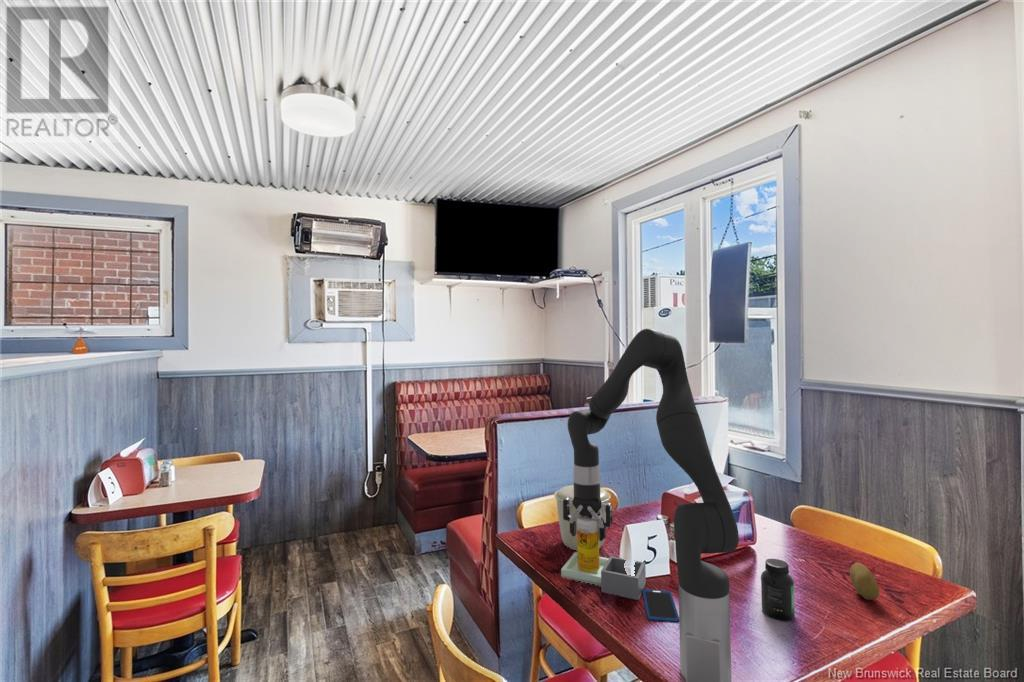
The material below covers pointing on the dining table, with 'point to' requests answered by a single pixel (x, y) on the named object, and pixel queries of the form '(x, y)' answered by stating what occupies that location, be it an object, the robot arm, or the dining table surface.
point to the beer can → (588, 544)
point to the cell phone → (660, 606)
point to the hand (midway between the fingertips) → (587, 537)
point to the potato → (864, 581)
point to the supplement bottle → (777, 590)
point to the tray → (574, 572)
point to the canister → (564, 524)
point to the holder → (623, 579)
